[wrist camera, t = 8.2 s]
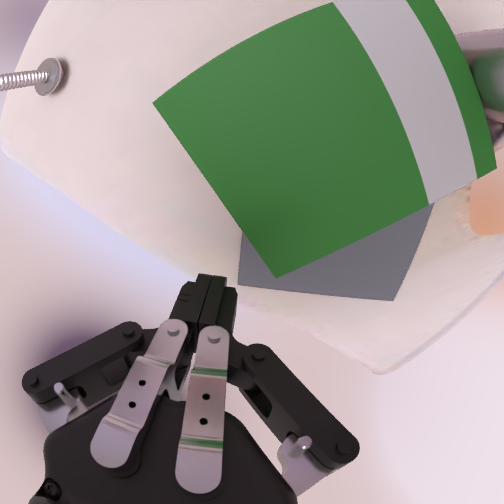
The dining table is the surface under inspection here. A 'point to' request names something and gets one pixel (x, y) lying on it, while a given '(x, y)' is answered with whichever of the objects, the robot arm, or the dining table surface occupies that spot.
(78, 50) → the dining table surface
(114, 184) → the dining table surface
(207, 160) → the hardback book
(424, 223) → the mat
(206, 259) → the dining table surface
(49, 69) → the screw
